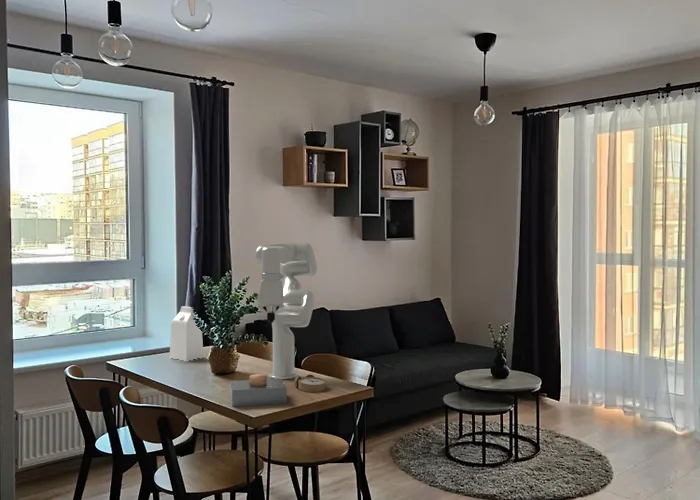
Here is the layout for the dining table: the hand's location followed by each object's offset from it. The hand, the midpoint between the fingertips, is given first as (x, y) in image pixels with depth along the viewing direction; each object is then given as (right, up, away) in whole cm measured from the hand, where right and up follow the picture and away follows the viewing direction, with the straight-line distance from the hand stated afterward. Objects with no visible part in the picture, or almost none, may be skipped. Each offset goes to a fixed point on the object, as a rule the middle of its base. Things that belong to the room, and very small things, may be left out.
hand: (270, 322), depth 263 cm
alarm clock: (+16, -28, +2) cm, 32 cm away
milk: (-50, -25, +62) cm, 83 cm away
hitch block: (-3, -28, -17) cm, 33 cm away
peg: (-3, -27, -17) cm, 32 cm away
